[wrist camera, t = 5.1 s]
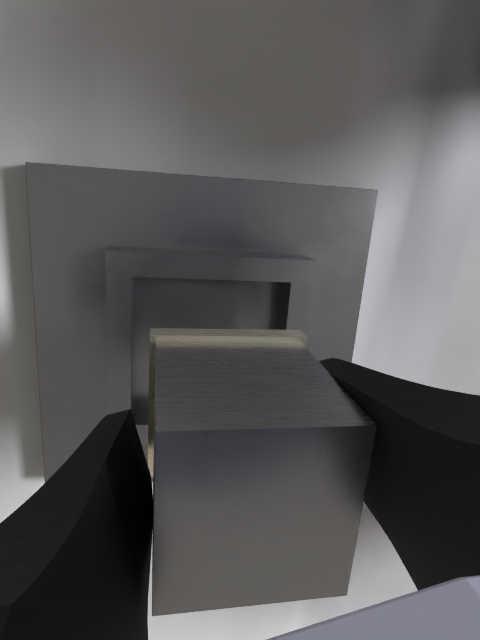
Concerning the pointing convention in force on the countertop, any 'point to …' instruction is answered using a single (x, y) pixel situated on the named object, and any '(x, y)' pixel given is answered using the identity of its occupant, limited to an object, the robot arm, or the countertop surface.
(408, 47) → the countertop surface
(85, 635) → the robot arm
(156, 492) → the brushed metal block
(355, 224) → the stand base
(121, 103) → the countertop surface
